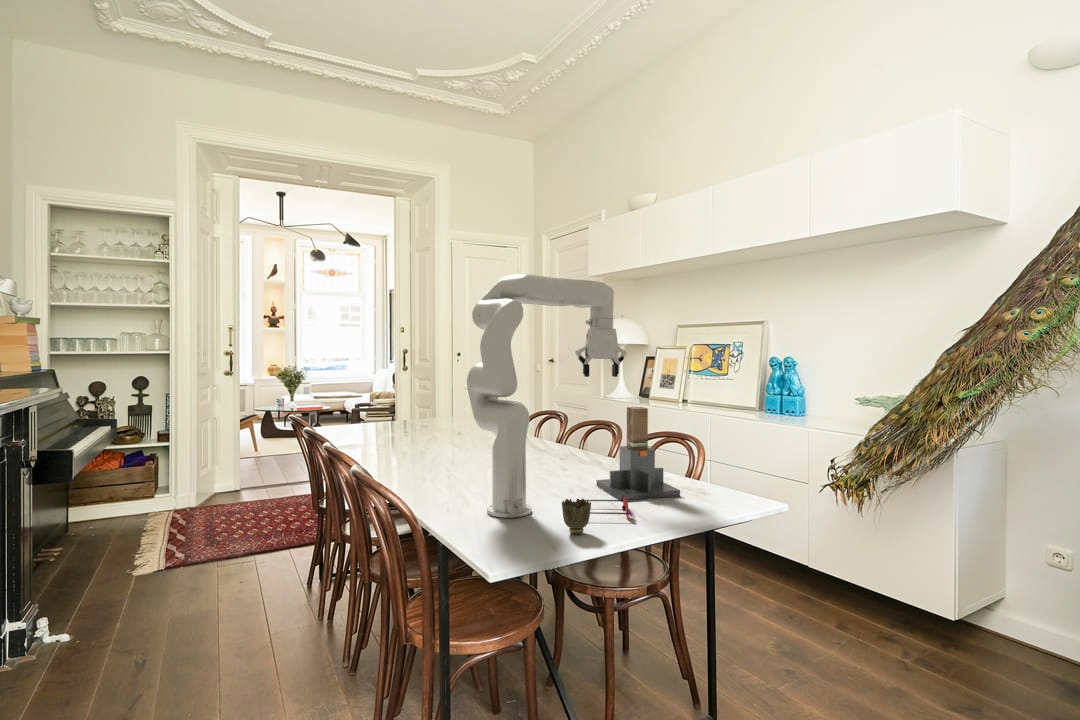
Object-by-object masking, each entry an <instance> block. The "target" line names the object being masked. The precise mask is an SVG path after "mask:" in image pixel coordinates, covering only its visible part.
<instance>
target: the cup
mask: <svg viewBox="0 0 1080 720" xmlns="http://www.w3.org/2000/svg"><path fill="white" fill-rule="evenodd" d="M585 500H587V501H585ZM588 500H589V499H585V498H581V499H579V498H577V499H576V500H575V501H574V500H572V498H570V499H568V498H566V499H565V500H562V502H561V510H562V517H563V521H564V524H565V525H566V527H568V528H569V529H568V531H569V533H570V534H571V535H575V536H579V535H582V534H583V533H584V532H585V531H584V528H585V527H587V525H588V524H589V521H590V517H591V514H590V512H591V508H592V501H588Z"/></svg>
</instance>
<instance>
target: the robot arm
mask: <svg viewBox="0 0 1080 720" xmlns="http://www.w3.org/2000/svg"><path fill="white" fill-rule="evenodd" d="M614 296H615V295H614V288H613V287H612V286H608V284H606V283H605V282H602V281H596V280H589V279H575V278H574V279H573V278H564V277H562V278H561V277H551V276H544V275H539V274H538V275H535V274H529V273H528V274H527V273H524V274H523V273H521V274H514V275H508V276H504V277H502V278H501V279H499V280H498V281H497V282H496V283H495V284H494V285H492V287H490V289H489V290H488V291H486V292H485V294H484V295H482V297H481V298H480V299H479V300H478V301H477V303H475V305H474V307H473V309H472V314H471V315H472V316H471V317H472V322H473V323H474V324H475V326H476V327H477V328H479V329H481V330H483V331H484V332H483V333H482V336H481V339H480V344H479V349H480V356H481V362H479V363H476V364H474V365H473V366H472V367H471V368H470V369H469V371H468V374H467V378H466V387H467V392H468V397H469V403H470V406H471V410H472V414H473V418H474V421H475V423H476V425H477V426H478V427H479V428H480V429H481V430H484V431H487V432H492V433H497V435H496V437H495V439H494V441H493V445H492V452H491V457H492V458H491V459H492V460H491V463H492V465H491V467H492V470H491V472H492V473H491V474H492V475H491V476H492V477H491V478H492V479H491V481H492V483H491V484H492V486H491V487H492V494H491V495H492V496H491V497H492V498H491V499H492V504H490V505H488V506H487V508H486V512H487V514H488V515H490V516H492V517H496V518H504V519H507V518H510V519H511V518H513V519H514V518H520V517H525V516H528V515H529V514H531V513H532V507H531V505H529V504H528V503H527V437H528V431H529V426H530V418H531V417H530V412H529V409H528V408H527V407H526V405H524V404H523V403H521V402H519V401H517V400H511V399H509V400H508V399H499V398H507V397H511V396H513V395H514V394H516V391H517V389H518V378H517V377H518V376H517V372H516V368H515V363H514V358H513V354H512V353H513V351H512V340H513V339H512V338H513V336H514V334H515V331H516V330H517V329H518V327H519V326H520V324H521V322H522V321H523V317H524V307H523V305H526V304H527V305H535V306H536V305H537V306H548V307H549V306H550V307H566V306H567V307H568V306H573V307H575V308H577V309H578V308H580V309H585V308H589V319H588V320H585V324H586V325H587V326H589V327H588V328H587V332H586V338H585V345H584V346H582V347H579V348H578V349H576V350H575V351H574V352H575V354H576V357H577V360H579V362H581V365H582V374H583V375H584V378H585V377H586V378H589V377H590V364H589V362H590V361H591V360H592V359H594V360H596V359H597V360H598V359H599V360H602V359H603V360H611V362H612V365H611V376H612V377H614V378H617V377H618V375H619V373H620V372H619V370H620V368H619V367H620V365H621V363H622V362H623V361H624V360H625V357H626V355H627V351H626V350H625V349H623V348H621V347H619V344H618V343H619V342H618V335H617V328H614ZM582 353H584V354H585V355H584V356H585V357H583V355H582Z"/></svg>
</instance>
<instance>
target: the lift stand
mask: <svg viewBox="0 0 1080 720" xmlns="http://www.w3.org/2000/svg"><path fill="white" fill-rule="evenodd" d="M655 461H656V450H655V448H652V447H649V446H648V449H642V450H631V449H629V448H627V445H623V446H622V445H621V446H619V470H609V478H605V479H596V487H597V486H598V487H597V488H599V487H600V488H601V489H600V488H599V489H600V490H602V489H603V490H602V491H604V492H605V491H606V492H605V493H607V494H608V493H609V495H610V496H612V497H613V498H615V500H623V494H624V495H625V498H626V500H627V502H629V501H640V500H655V499H665V498H666V499H667V498H679V497H681V490H680V489H679V488H677V487H674V486H672V485H671V484H668V483H665V481H664V468H663V467H656V462H655Z"/></svg>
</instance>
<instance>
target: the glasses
mask: <svg viewBox="0 0 1080 720" xmlns="http://www.w3.org/2000/svg"><path fill="white" fill-rule="evenodd" d="M584 500H585V501H586V502H587V500H588V502H590V501H591V502H622V504H623V505H622V506H621V508H622V511H623V512H604V511H603V512H594V511H593V512H591V511H590V515H593V514H595V515H626V520H629V517H630V516H632V512H631V511H629V509H630V508H629V503H628V502H629V501H627V500H626V498H625V495H624V494H623V500H618V499H584Z"/></svg>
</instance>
